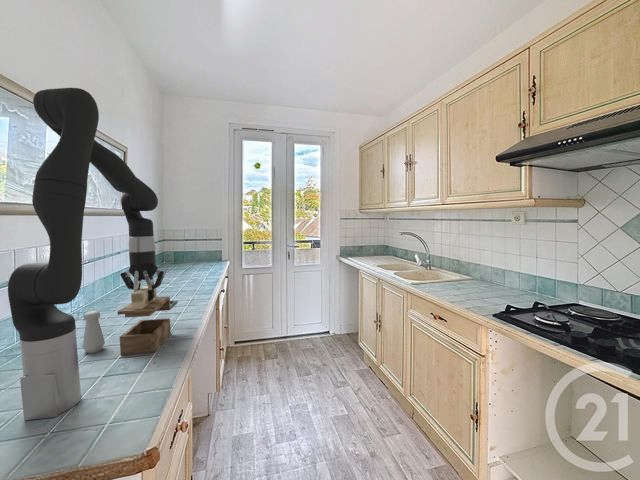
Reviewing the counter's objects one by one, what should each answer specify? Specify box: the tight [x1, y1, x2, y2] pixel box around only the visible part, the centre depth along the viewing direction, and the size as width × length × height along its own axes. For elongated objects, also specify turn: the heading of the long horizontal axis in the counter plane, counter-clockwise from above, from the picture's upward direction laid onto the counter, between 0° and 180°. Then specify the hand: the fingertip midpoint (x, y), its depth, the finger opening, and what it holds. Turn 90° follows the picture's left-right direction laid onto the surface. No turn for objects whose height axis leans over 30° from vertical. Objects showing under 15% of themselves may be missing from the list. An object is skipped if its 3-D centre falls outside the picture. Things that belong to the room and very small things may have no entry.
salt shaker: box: [82, 310, 106, 354], centre depth 95 cm, size 6×6×13 cm
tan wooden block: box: [116, 285, 179, 319], centre depth 104 cm, size 25×10×10 cm, turn 10°
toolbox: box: [119, 318, 172, 356], centre depth 100 cm, size 15×10×6 cm, turn 10°
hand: (145, 300), depth 98 cm, fingers closed on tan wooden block, 3 cm apart
